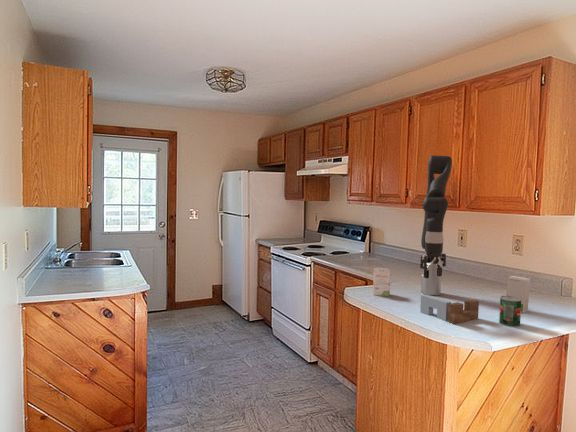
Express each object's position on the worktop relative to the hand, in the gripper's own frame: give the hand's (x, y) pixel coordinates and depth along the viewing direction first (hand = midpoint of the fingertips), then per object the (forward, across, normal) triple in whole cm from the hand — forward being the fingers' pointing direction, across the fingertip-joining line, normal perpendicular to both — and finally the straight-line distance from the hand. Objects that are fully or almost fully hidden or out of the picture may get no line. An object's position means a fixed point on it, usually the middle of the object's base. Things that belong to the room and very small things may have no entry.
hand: (432, 277), depth 182 cm
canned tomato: (+17, -18, +25) cm, 36 cm away
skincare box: (+17, -40, +16) cm, 47 cm away
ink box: (+17, -4, -36) cm, 40 cm away
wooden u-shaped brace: (+17, -4, +13) cm, 22 cm away
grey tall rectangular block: (+17, +1, +3) cm, 17 cm away
